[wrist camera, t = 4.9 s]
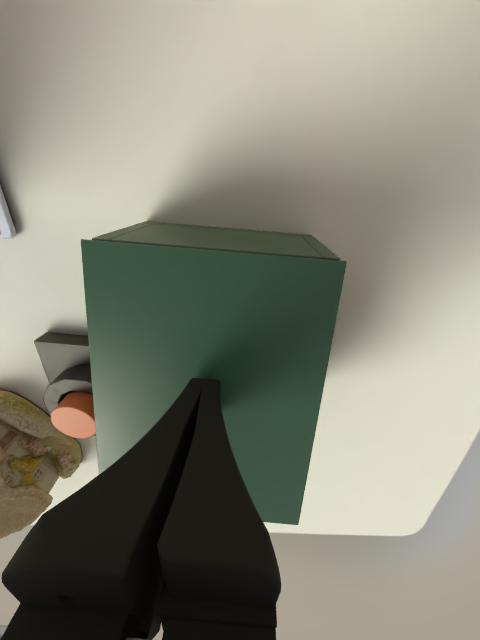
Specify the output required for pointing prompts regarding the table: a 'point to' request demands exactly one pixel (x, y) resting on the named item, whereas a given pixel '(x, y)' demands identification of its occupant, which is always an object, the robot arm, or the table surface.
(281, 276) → the lid
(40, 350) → the switch block
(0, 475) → the ceramic model
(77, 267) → the table surface
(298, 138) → the table surface
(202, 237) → the box
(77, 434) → the button
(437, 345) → the table surface
